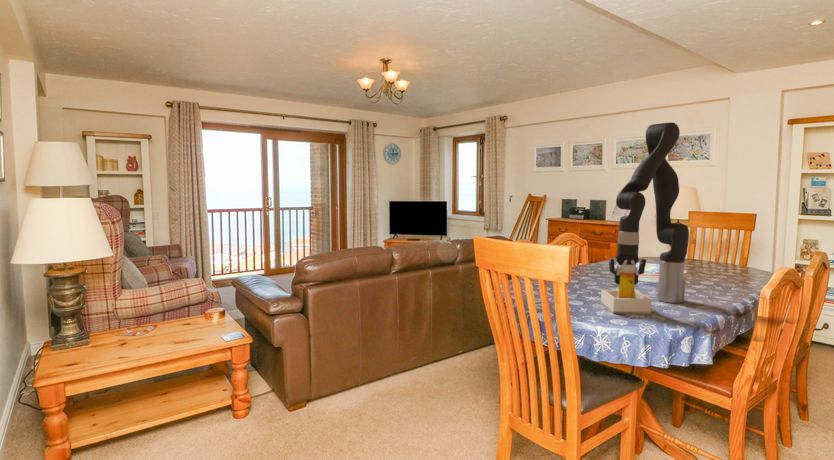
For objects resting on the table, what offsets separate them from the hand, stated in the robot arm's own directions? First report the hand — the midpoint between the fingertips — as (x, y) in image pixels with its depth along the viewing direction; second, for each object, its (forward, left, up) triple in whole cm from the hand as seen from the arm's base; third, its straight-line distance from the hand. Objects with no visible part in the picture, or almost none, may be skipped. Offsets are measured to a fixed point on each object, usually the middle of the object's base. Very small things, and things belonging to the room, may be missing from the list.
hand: (625, 284), depth 181 cm
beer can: (0, 0, -7) cm, 7 cm away
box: (0, 0, -10) cm, 10 cm away
